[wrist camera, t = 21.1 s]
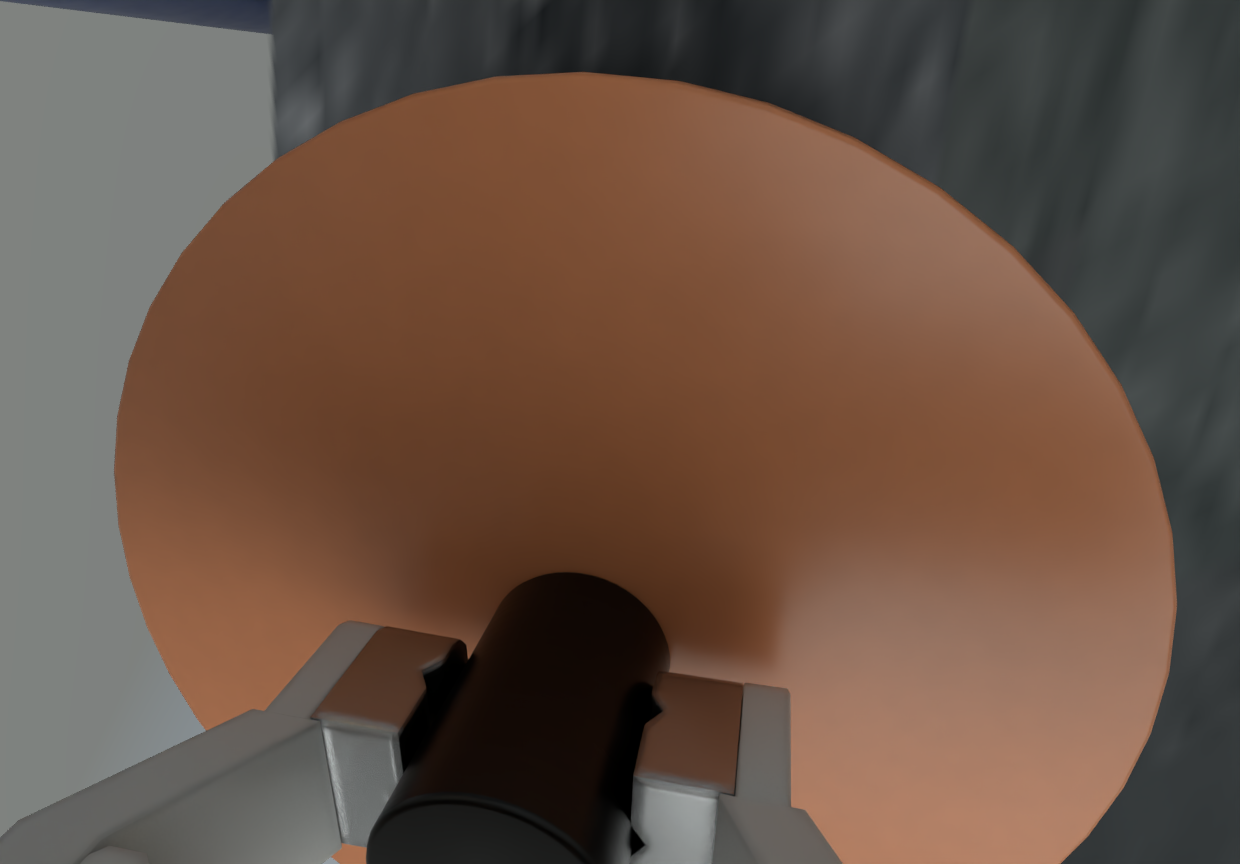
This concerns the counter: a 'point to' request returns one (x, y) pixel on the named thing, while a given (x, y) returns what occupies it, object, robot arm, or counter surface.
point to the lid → (651, 470)
